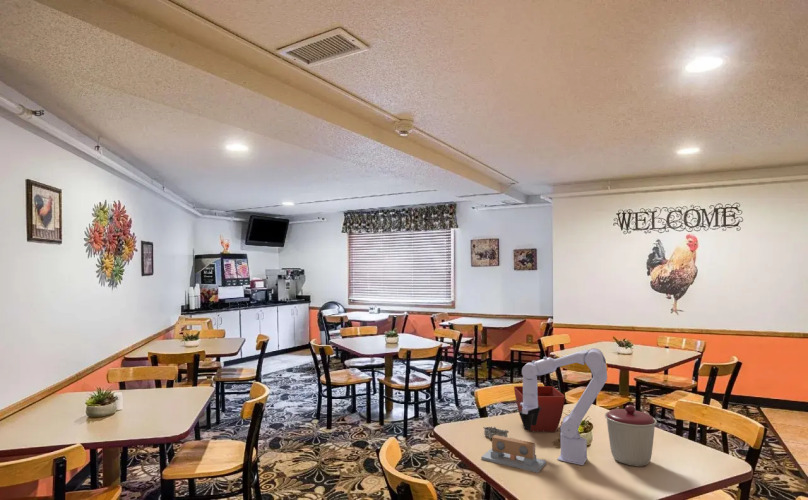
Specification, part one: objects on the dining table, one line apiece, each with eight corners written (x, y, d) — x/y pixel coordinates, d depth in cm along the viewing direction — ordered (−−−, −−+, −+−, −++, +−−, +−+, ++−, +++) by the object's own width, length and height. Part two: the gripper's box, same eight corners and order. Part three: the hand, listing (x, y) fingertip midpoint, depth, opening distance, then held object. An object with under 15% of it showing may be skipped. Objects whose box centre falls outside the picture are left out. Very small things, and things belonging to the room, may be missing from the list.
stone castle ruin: (509, 441, 201) (510, 431, 201) (495, 443, 199) (495, 433, 199) (496, 432, 211) (496, 423, 211) (481, 434, 208) (481, 425, 209)
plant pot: (513, 420, 227) (513, 385, 228) (552, 420, 227) (552, 385, 228) (523, 434, 208) (523, 396, 209) (566, 434, 208) (565, 396, 209)
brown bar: (535, 456, 176) (535, 442, 176) (532, 459, 173) (532, 445, 174) (494, 447, 185) (494, 434, 185) (491, 450, 182) (491, 437, 182)
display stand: (545, 463, 177) (545, 455, 178) (538, 472, 169) (538, 464, 169) (491, 450, 189) (491, 443, 189) (481, 459, 181) (481, 451, 181)
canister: (664, 461, 179) (663, 405, 180) (647, 475, 167) (645, 415, 168) (616, 448, 193) (616, 396, 194) (597, 460, 180) (596, 405, 181)
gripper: (526, 388, 197) (526, 420, 196) (514, 396, 185) (514, 430, 184) (542, 390, 193) (543, 423, 192) (532, 398, 181) (532, 434, 180)
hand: (530, 427), depth 188 cm, fingers open, 7 cm apart
